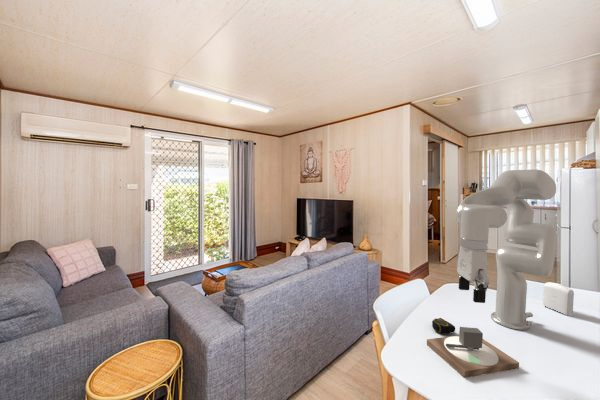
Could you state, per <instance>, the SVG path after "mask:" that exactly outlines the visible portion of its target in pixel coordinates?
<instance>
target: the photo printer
mask: <svg viewBox="0 0 600 400" xmlns="http://www.w3.org/2000/svg"><path fill="white" fill-rule="evenodd" d="M574 295H575V292H574V290H573V289H571V288H570V287H568V286H565V285H563V284H561V283H557V282H552V281H551V282H550V281H548V282H545V283H544V285H543V299H542V305H544V306H546V307H545V308H547V307H549V308H551V309H550V310H552V309H554V310H556V311H555V312H557V311H558V312H557V313H559V312H561V313H560V314H562V313H563V314H562V315H565V316H568V315H572V316H573V312H574ZM544 306H543V307H544ZM549 308H548V309H549ZM554 310H553V311H554Z"/></svg>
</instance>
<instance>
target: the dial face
mask: <svg viewBox="0 0 600 400" xmlns="http://www.w3.org/2000/svg"><path fill="white" fill-rule="evenodd" d="M452 336H453V337H449V336H447V337H448V338H446V339H445V341H444V345H445V347H446V349H447V350H448V351H449V352H450V353H451V354H453V355H454V356H456V357H457V358H459V359H461V360H463V361H466V362H468V363H472V364H475V365H480V366H492V365H495V364H497V363H498V360H499V359H498V356H497V354H496V353H495V352H494V351H493V350H492V349H491V348H490V347H488V346H486V345H485V344H483V343H482V348H479V350H476V349H474V350H473V351H471V350H468V349H467V348H457V347H447V346H446V344H456V345H462V344H461V343H460V342H459V336H457V335H452Z"/></svg>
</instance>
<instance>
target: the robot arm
mask: <svg viewBox="0 0 600 400" xmlns="http://www.w3.org/2000/svg"><path fill="white" fill-rule="evenodd" d="M556 193H557V185H556V182H555V180H554V179H553V178H552V177H551V176H550V174H549V173H547V172H545V171H544V170H541V169H537V168H536V169H533V168H532V169H513V170H506V171H503V172H502V173H500V174H499V176H498V177H496V178H495V180H494V182H493V183H492V184H491V185H490V186H489V187H487V188H485V189H481V190H479V191H476V192H474V193H471V194H469V195H468V196H466V197H465V198H464V199H463V200H462V201H461V202H460V203H459V204H458V207H457V208H456V211H455V218H456V221H457V222H458V223H460V234H459V238H460V239H459V251H458V256H457V262H456V263H457V264H456V266H457V267H456V271H457V274H458V278H459V279H458V289H459V290H460V291H469V290H470V284H471V282H472V283H473V286H474V288H473V292H472V293H473V295H472V296H473V297H472V301H473V302H474V303H481V304H485V303H486V297H487V295H486V294H487V291H488V289H489V284H490V279H489V277H488V254H487V252H488V251H489V250H488V249H489V248H488V247H489V231H490V230H489V229H499V228H501V227H503V226H504V225H505V226H504V231H503V237H504V240H505V241H506V242H507V243H510V244H515V245H519V246H525V247H534V248H537V250H535V249H530V248H529V249H528V248H522V247H516V246H509V245H505V246H501V247H499V248H498V249H497V250H496V252H495V261H496V270H497V275H496V277H497V280H496V295H495V296H496V297H495V311H494V312H492V313H490V318H491V319H492V320H493V321H494V323H496V324H498V325H500V326H503V327H506V328H509V329H513V330H520V331H521V330H522V331H526V330H529V329H530V328H531V327H530V326H531V324H530V323H529V321H528V320H527V319H528V318H533V317H534V314H533V313H532V312H531V311H527V312H526V309H527V293H528V291H527V290H528V283H527V280H526V278H525V277H524V275H523V274H522V273H524V274H527V275H528V274H529V275H532V276H535V277H536V276H537V277H541V278H542V277H543V278H544V277H545V278H547V277H550V276H551V275H552V272H553V269H554V265H555V257H556V250H557V249H556V248H557V242H558V241H557V240H558V234H557V231H556V228H555V227H554V226H552V225H550V224H546V223H539V222H538V223H537V222H536V223H535V222H534V216H535V215H534V214H535V210H534V209H533V207H532V206H531V205H530V204H529V203H528V202H527V201H526V200H534V201H537V200H539V201H541V200H542V201H546V200H547V201H548V200H551V199H553V198H554V196H556ZM503 207H506V209H504V208H503ZM506 210H507V211H506Z"/></svg>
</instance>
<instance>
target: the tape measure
mask: <svg viewBox="0 0 600 400" xmlns="http://www.w3.org/2000/svg"><path fill="white" fill-rule="evenodd" d="M431 327H432V329H433V330H434V331H435V332H437V333H440V334H442V335H450V334H452V333H454V332H456V327H455V325H453V324H452V323H451V322H449V321H447V320H445V319H444V318H441V317H438V318H434V319H432V322H431Z"/></svg>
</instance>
